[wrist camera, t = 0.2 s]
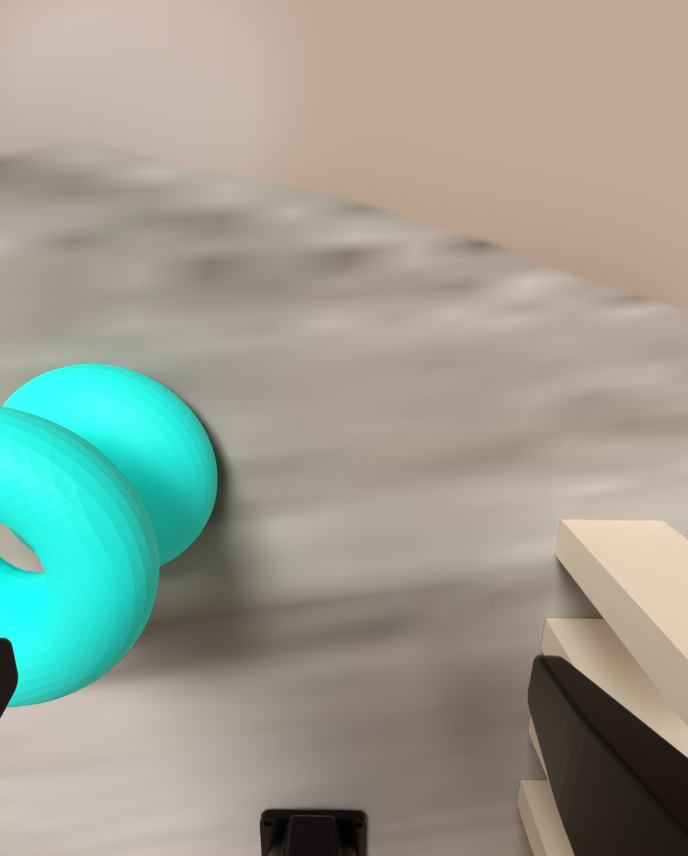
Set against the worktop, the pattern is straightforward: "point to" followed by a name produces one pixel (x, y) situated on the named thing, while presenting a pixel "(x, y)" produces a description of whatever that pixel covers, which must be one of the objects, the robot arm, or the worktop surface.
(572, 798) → the robot arm
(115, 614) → the turquoise lobed shape
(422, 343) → the worktop surface
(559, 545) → the ivory domino
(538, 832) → the ivory domino
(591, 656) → the ivory domino
